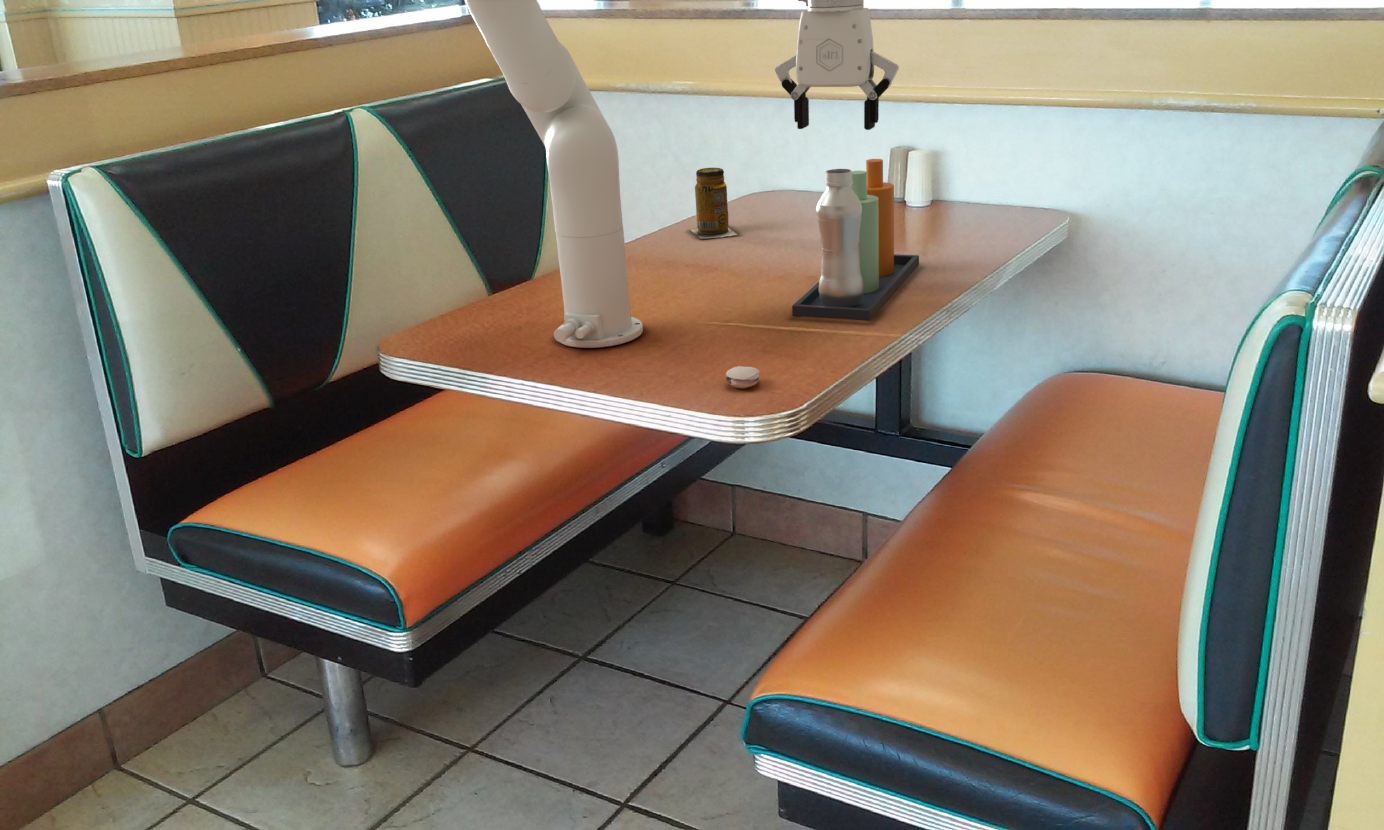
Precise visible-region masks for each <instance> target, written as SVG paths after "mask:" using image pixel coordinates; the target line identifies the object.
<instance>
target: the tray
mask: <svg viewBox="0 0 1384 830" xmlns="http://www.w3.org/2000/svg"><path fill="white" fill-rule="evenodd" d="M919 265H920V255H918V254H899V253H898V254H895V253H894V273H892V274H890V275H887V276H881V277H879V289H878V290H876V291H874V292H870V293H864V294H863V298H862V300H861V302H860V303H859V304H858V305H855V306H851V307H832V306H826V305H824V303H823V302H822V301H821V299H820V295H819V281H818V282H816V284H814V285H813V286H812V287H811V288H810V289H808V291H807V292H806V293H804V294H803V295H802V296H801V297H800V298H799V299H798V300H797V301H796V302H795V303H793V304H792V305H791V310H792V311H791V312H792V313H791V314H792V317H802V318H803V317H806V318H818V319H819V318H821V319H835V320H836V319H838V320H853V321H865V322H866V321H867V322H868V321H869V322H870V321H871V320H872V319H873V318H874V317H875V316H876V314H877V313H878V312H879V311H880V310H881V308H882V307H884V305H885V304H886V303H887V302H888V300H889V299H890V298H892V296H894V294H895V293H896V292H897V290H898V289H899V288H901V286H902V285H903V284H904V282H905V281H906V280H907V279H908V277H910V275H911V274H912V273H913V272H914V271H915V270H916V268H917V267H918V266H919Z"/></svg>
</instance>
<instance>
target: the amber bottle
mask: <svg viewBox="0 0 1384 830" xmlns="http://www.w3.org/2000/svg"><path fill="white" fill-rule="evenodd" d="M865 171H866V172H867V195H873V196H876V197H878V210H879V277H881V276H887V275H890V274H892V273H894V254H895V185H894V183H891V182H887V181H886V182H885V181H884V160H883V159H882V158H869V159H866V160H865Z"/></svg>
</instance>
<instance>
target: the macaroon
mask: <svg viewBox="0 0 1384 830" xmlns="http://www.w3.org/2000/svg"><path fill="white" fill-rule="evenodd" d="M725 376H726V377H725V381H726V383H727V384H728V385H730V387H734V388H735V389H748V388H750V387H752V386H755V385H756V384H757V383H758V381H759V380H760V370H759V368H756V367H752V366H742V365H738V366H734V367H732V368H730V369H728V370H727V371H726V372H725Z"/></svg>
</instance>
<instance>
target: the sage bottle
mask: <svg viewBox="0 0 1384 830" xmlns="http://www.w3.org/2000/svg"><path fill="white" fill-rule="evenodd" d="M851 172H852V184H850V186H851V189H852V190H853V191H854V192H855V194H856V195H857V197H858V198H859V200H860V203H861V206H862V214H861V223H860V231H859V243H858V245H859V259H860V269H861V274H862V278H863V284H864V293H870V292H874V291H876V290H878V289H879V210H878V197H876V196H873V195H867V172H866V170H851Z"/></svg>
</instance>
